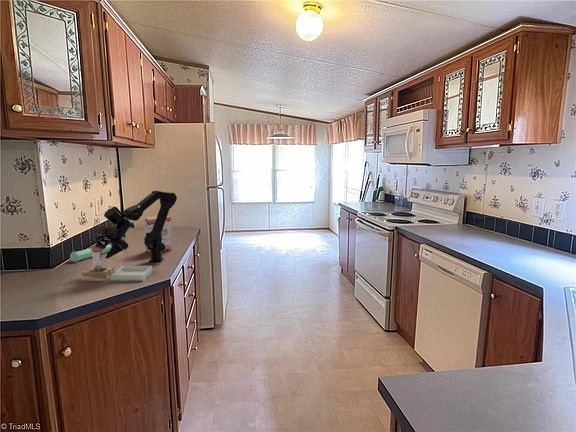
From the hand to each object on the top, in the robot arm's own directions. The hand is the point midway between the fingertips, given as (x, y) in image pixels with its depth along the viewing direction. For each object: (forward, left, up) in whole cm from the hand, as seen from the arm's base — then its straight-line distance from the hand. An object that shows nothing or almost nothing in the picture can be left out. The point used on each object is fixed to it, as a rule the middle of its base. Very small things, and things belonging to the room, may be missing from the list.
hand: (99, 256), depth 163 cm
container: (-37, -21, -10) cm, 44 cm away
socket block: (+1, -1, -9) cm, 10 cm away
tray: (0, +14, -9) cm, 17 cm away
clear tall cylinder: (+1, -1, -9) cm, 10 cm away
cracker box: (-49, +12, -10) cm, 52 cm away
